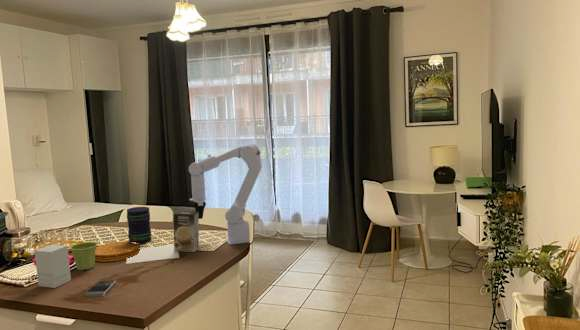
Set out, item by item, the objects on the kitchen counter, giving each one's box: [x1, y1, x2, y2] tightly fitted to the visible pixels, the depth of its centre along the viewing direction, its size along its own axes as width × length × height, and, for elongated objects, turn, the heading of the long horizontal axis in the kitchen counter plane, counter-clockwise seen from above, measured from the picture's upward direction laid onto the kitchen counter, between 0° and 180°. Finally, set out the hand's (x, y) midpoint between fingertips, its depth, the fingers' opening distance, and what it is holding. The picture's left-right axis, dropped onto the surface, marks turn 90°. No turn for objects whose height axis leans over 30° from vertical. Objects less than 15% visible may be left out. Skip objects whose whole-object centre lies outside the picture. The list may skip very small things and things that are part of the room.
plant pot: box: [69, 241, 98, 271], centre depth 163 cm, size 9×9×9 cm
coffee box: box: [173, 210, 200, 253], centre depth 180 cm, size 9×6×16 cm
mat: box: [125, 244, 180, 265], centre depth 177 cm, size 20×18×1 cm
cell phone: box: [85, 280, 116, 298], centre depth 142 cm, size 6×11×1 cm, turn 2°
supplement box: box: [34, 244, 72, 289], centre depth 148 cm, size 7×7×13 cm
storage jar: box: [126, 206, 152, 245], centre depth 195 cm, size 10×10×15 cm
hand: (200, 218), depth 193 cm, fingers closed
